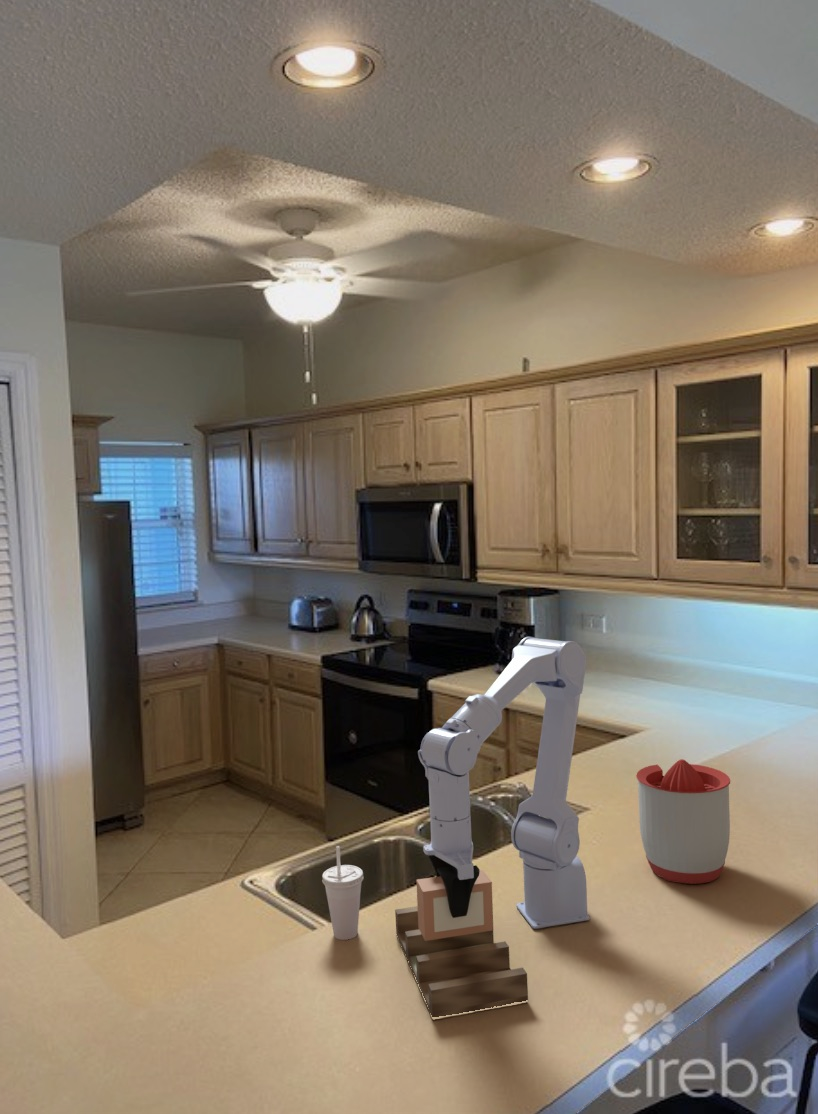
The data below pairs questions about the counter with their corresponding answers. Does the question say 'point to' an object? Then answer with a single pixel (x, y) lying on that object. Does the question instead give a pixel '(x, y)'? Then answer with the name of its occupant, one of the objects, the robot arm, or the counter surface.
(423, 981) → the rack
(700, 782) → the citrus juicer
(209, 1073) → the counter surface
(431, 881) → the pink rectangular block
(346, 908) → the smoothie
